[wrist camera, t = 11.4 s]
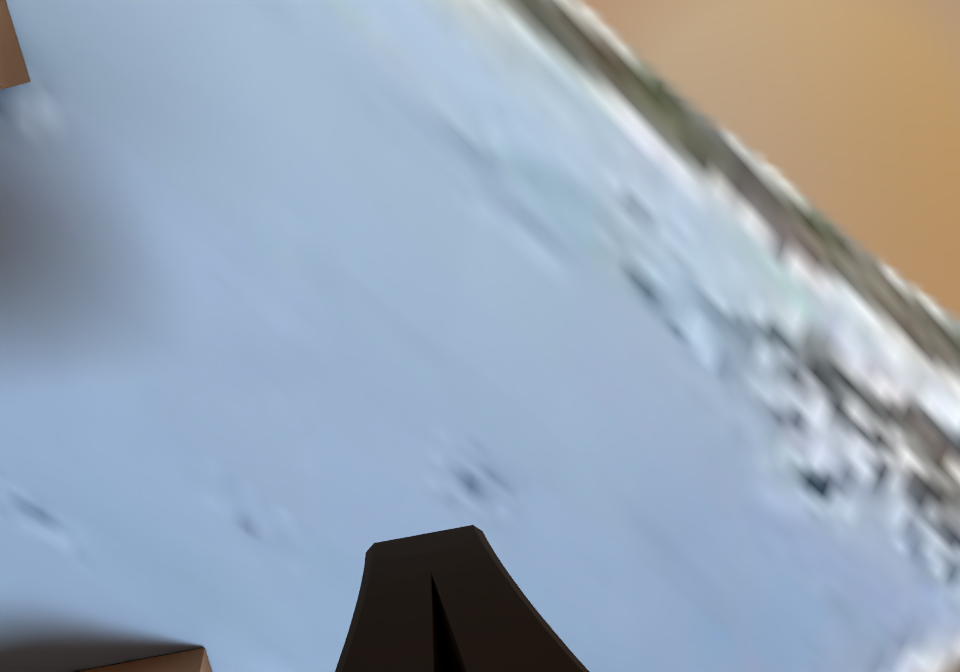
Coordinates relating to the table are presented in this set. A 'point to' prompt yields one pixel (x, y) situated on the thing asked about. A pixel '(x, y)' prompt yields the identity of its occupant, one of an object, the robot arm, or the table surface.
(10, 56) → the dock
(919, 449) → the table surface
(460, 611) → the robot arm
